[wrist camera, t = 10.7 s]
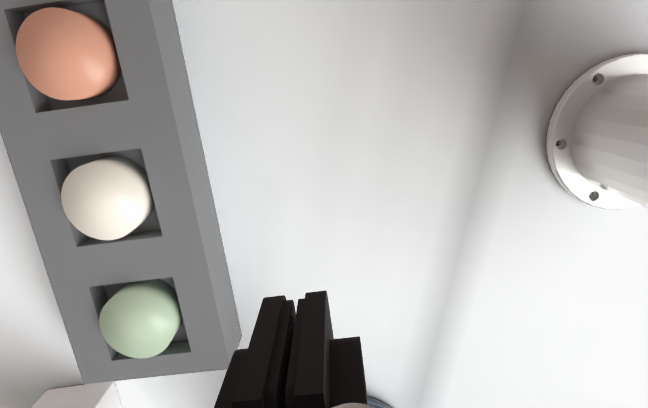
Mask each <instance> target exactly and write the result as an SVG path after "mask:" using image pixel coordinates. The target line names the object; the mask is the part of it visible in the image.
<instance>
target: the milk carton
mask: <svg viewBox="0 0 648 408" xmlns="http://www.w3.org/2000/svg"><path fill="white" fill-rule="evenodd" d="M31 408H123V407H122V404H121V401H120V398H119V395H118V393H117V390H116V387H115V384H114V382H113V381H109V382H99V383H92V384H84V385H77V386H70V387H63V388H56V389H49V390H47V391H46V392H45V393H44V394H43V395H42V396H41V397H40V398H39V399H38V401H37V402H36V403H35V404H34V405H33V406H32V407H31Z"/></svg>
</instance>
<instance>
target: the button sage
mask: <svg viewBox="0 0 648 408" xmlns="http://www.w3.org/2000/svg"><path fill="white" fill-rule="evenodd" d="M182 321H183V317H182V313H181V309H180V305H179V301H178V296H177V293H176V291H175V290H174V289H173V288H172V287H170V286H169V285H167V284H166V283H164V282H162V281H160V280H156V279H152V280H144V281H135V282H128V283H127V284H125V285H124V286H123V287H122V288H121V289H120V290H119V291H118V292H117V293H116V294H115V295H114V296H113V297H112V298H111V299H110V300H109V301H108V302H107V303H106V304H105V305H104V307H103V308H102V310H101V313H100V317H99V326H100V330H101V333H102V335H103V337H104V339H105V340H106V342H107V343H108V344H109V345H110V346H111V347H112V348H113V349H114V350H116V351H117V352H119V353H121V354H123V355H125V356H128V357H132V358H149V357H153V356H156V355H158V354H159V353H161V352H162V351H164V350H165V349H166V348H167V347H168V345H169V344H170V342H171V340H172V339H173V337H174V335H175V334H176V332H177V331H178V329H179V327H180V326H181V324H182Z"/></svg>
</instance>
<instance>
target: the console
mask: <svg viewBox="0 0 648 408" xmlns="http://www.w3.org/2000/svg"><path fill="white" fill-rule="evenodd" d="M50 7H55V8H62V9H67V10H70V11H74V12H78V13H82V14H86V15H89V16H92V17H94V18H96V19H97V20H99V21H101V22H102V23H103V24H104V25H106V26H107V27H108V29H109V30H110V31H111V32H112V33H113V38H114V42H115V46H116V50H117V54H118V58H119V62H120V66H121V74H120V77H119V79H118V81H117V83H116V84H115V86H114V87H113V88H112V89H111V90H110V91H109V92H107V93H106V94H104V95H102V96H100V97H97V98H90V99H79V100H59V99H55V98H52V97H49V96H47V95H45V94H43V93H42V92H40V91H39V90H37V89H36V88H35V87H34V86H33V85H32V84H31V83H30V82H29V81H28V80H27V78H26V77H25V75H24V74H23V72H22V70H21V68H20V66H19V63H18V60H17V56H16V37H17V34H18V31H19V28H20V26H21V25H22V23H23V21H24V20H25V19H26V18H27V17H28V16H29V15H31V14H32V13H34V12H35V11H38V10H40V9H44V8H50ZM0 132H1V135H2V138H3V141H4V144H5V147H6V150H7V153H8V156H9V159H10V162H11V165H12V168H13V171H14V174H15V177H16V180H17V183H18V186H19V189H20V192H21V195H22V198H23V201H24V204H25V207H26V210H27V213H28V216H29V219H30V222H31V225H32V228H33V231H34V234H35V237H36V240H37V244H38V247H39V250H40V253H41V256H42V259H43V262H44V265H45V268H46V271H47V274H48V277H49V280H50V283H51V286H52V289H53V292H54V295H55V298H56V301H57V304H58V307H59V310H60V313H61V316H62V319H63V322H64V325H65V328H66V331H67V334H68V337H69V340H70V343H71V346H72V349H73V352H74V355H75V358H76V361H77V364H78V367H79V370H80V373H81V376H82V379H83V382H84V384H90V383H99V382H109V381H118V380H128V379H137V378H146V377H156V376H165V375H175V374H184V373H194V372H203V371H213V370H222V369H228V367H229V364H230V361H231V358H232V356H233V353H234V351H235V350H237V348H238V345H239V342H240V339H241V337H242V334H241V330H240V325H239V320H238V315H237V310H236V306H235V301H234V296H233V291H232V287H231V282H230V277H229V272H228V267H227V263H226V258H225V253H224V248H223V243H222V239H221V234H220V229H219V224H218V219H217V215H216V210H215V205H214V200H213V195H212V191H211V186H210V181H209V176H208V172H207V167H206V162H205V157H204V152H203V148H202V143H201V138H200V133H199V128H198V124H197V119H196V114H195V109H194V104H193V100H192V95H191V90H190V85H189V80H188V76H187V71H186V66H185V61H184V57H183V52H182V47H181V42H180V37H179V33H178V28H177V23H176V18H175V13H174V9H173V4H172V0H0ZM111 156H115V157H123V158H126V159H129V160H131V161H133V162H135V163H136V164H138V165H139V166H140V167H142V168H143V169H144V170H145V171H146V173H147V175H148V179H149V183H150V187H151V191H152V195H153V199H154V203H155V206H154V209H153V211H152V213H151V215H150V216H149V217H148V219H147V220H145V221H144V222H143V223H142V224H140V225H139V226H138V227H137V228H135V229H134V230H133V231H131V232H130V233H129V234H127V235H126V236H124V237H122V238H119V239H115V240H99V239H95V238H92V237H90V236H87V235H85V234H84V233H82V232H81V231H79V230H78V229H77V228H76V227H75V226H74V225H73V224H72V223H71V222H70V221H69V219H68V218H67V216H66V214H65V212H64V209H63V206H62V202H61V191H62V186H63V183H64V181H65V179H66V178H67V176H68V175H69V174H70V173H71V172H72V171H73V170H74V169H76V168H77V167H79V166H81V165H84V164H87V163H90V162H93V161H96V160H98V159H101V158H104V157H111ZM152 279H156V280H160V281H162V282H164V283H166V284H167V285H169V286H170V287H172V288H173V289H174V290H175V291H176V293H177V296H178V301H179V305H180V309H181V313H182V317H183V321H182V324H181V326H180V327H179V329H178V331H177V332H176V334H175V335H174V337H173V339H172V340H171V342H170V344H169V345H168V347H167V348H166V349H165V350H164V351H162V352H161V353H159V354H158V355H156V356H153V357H149V358H132V357H128V356H125V355H123V354H121V353H119V352H117V351H116V350H114V349H113V348H112V347H111V346H110V345H109V344H108V343H107V342H106V340H105V339H104V337H103V335H102V333H101V330H100V326H99V317H100V313H101V310H102V308H103V307H104V305H105V304H106V303H107V302H108V301H109V300H110V299H111V298H112V297H113V296H114V295H115V294H116V293H117V292H118V291H119V290H120V289H121V288H122V287H123V286H124V285H125V284H127V283H128V282H135V281H144V280H152Z"/></svg>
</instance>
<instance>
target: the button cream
mask: <svg viewBox="0 0 648 408" xmlns="http://www.w3.org/2000/svg"><path fill="white" fill-rule="evenodd" d="M61 202H62V206H63V209H64V212H65V214H66V216H67V218H68V219H69V221H70V222H71V223H72V224H73V225H74V226H75V227H76V228H77V229H78V230H79V231H81V232H82V233H84V234H85V235H87V236H90V237H92V238H95V239H99V240H115V239H119V238H122V237H124V236H126V235H127V234H129V233H130V232H131V231H133V230H134V229H135V228H137V227H138V226H139V225H140V224H142V223H143V222H144V221H145V220H147V219H148V217H149V216H150V215H151V213H152V211H153V209H154V206H155V203H154V199H153V195H152V191H151V187H150V183H149V179H148V175H147V173H146V171H145V170H144V169H143V168H142V167H140V166H139V165H138V164H136V163H135V162H133V161H131V160H129V159H126V158H123V157H115V156H111V157H104V158H101V159H98V160H96V161H93V162H90V163H87V164H84V165H81V166H79V167H77V168H76V169H74V170H73V171H72V172H71V173H70V174H69V175H68V176H67V178H66V179H65V181H64V183H63V186H62V191H61Z"/></svg>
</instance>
